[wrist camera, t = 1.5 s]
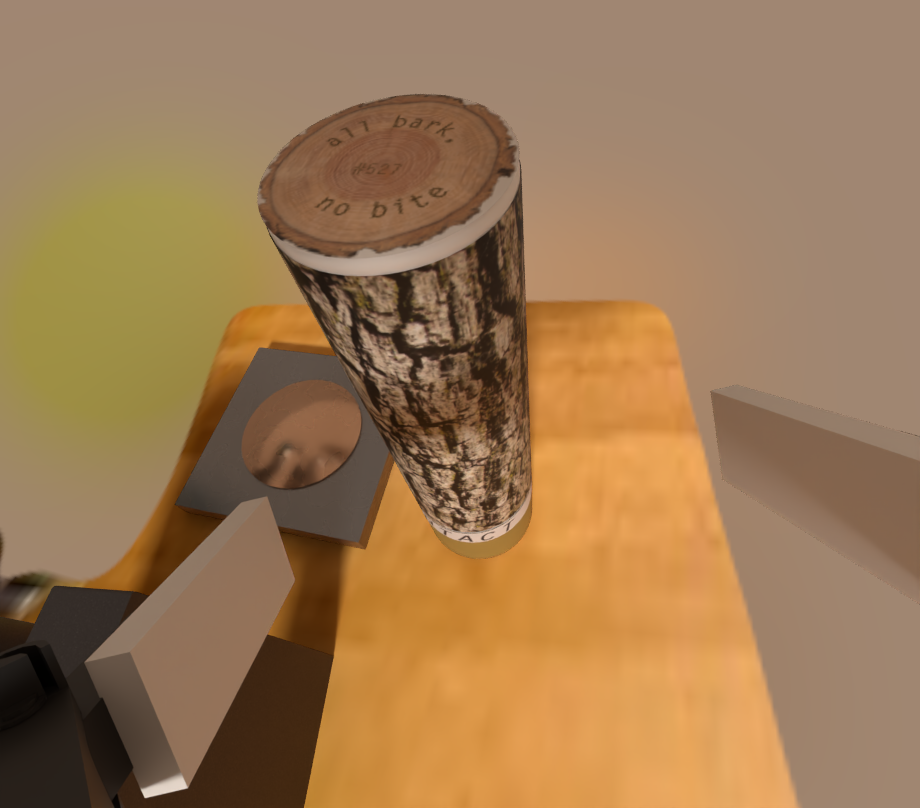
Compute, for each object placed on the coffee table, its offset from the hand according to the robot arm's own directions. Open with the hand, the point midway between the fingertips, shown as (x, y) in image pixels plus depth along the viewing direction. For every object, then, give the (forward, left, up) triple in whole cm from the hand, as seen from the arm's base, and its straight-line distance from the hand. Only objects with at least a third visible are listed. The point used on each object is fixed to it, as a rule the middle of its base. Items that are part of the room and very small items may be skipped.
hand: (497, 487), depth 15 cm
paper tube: (-4, +6, -19) cm, 20 cm away
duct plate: (-18, +9, -19) cm, 27 cm away
